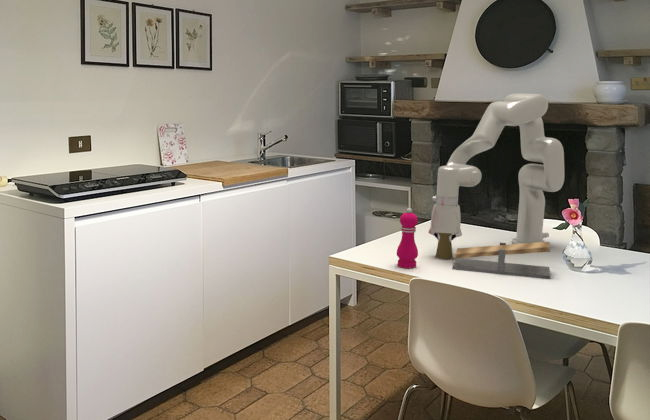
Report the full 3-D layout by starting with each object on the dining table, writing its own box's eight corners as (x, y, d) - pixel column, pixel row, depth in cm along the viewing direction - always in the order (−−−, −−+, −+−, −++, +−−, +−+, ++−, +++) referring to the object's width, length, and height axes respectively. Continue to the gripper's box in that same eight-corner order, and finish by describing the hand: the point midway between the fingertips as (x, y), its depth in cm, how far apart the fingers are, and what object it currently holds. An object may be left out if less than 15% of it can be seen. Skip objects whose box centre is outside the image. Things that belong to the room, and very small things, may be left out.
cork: (452, 259, 218) (454, 229, 216) (435, 258, 219) (436, 228, 217) (452, 255, 224) (454, 225, 222) (435, 254, 225) (437, 224, 223)
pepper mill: (402, 261, 215) (404, 205, 211) (421, 265, 211) (423, 207, 207) (392, 266, 209) (394, 208, 205) (411, 270, 205) (414, 211, 201)
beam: (455, 260, 208) (454, 254, 207) (458, 254, 215) (457, 248, 215) (550, 253, 198) (549, 247, 198) (549, 247, 206) (548, 241, 205)
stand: (452, 269, 207) (453, 245, 205) (455, 260, 217) (456, 238, 216) (550, 278, 198) (552, 254, 196) (548, 269, 208) (550, 246, 207)
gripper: (423, 201, 217) (420, 252, 220) (468, 204, 212) (465, 256, 216) (426, 197, 224) (423, 247, 227) (470, 200, 219) (467, 251, 223)
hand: (444, 251), depth 221 cm, fingers closed on cork, 1 cm apart
